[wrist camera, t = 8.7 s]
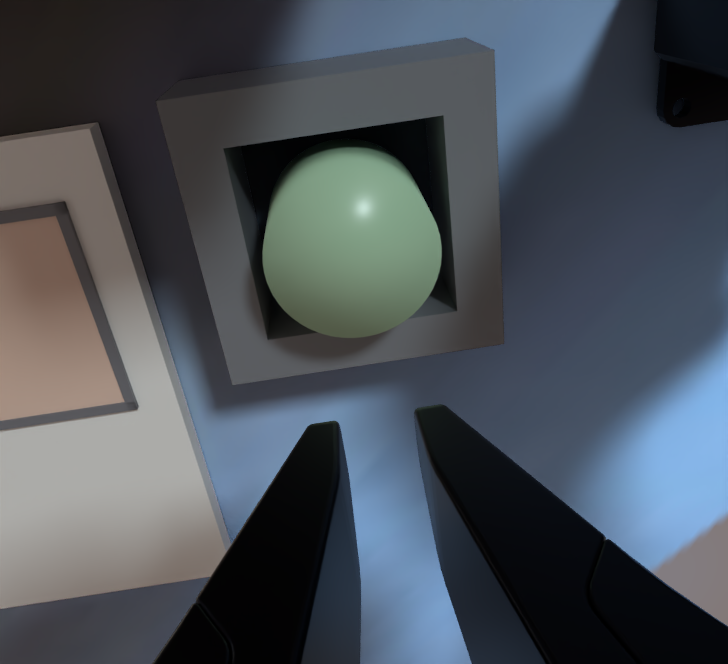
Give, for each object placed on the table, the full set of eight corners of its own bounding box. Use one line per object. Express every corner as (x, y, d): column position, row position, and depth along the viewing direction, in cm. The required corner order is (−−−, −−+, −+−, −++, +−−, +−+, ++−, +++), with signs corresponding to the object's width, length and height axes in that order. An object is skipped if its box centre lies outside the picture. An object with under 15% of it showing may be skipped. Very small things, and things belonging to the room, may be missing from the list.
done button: (414, 127, 17) (434, 157, 14) (427, 273, 19) (447, 324, 16) (254, 151, 17) (245, 186, 14) (284, 295, 19) (281, 349, 16)
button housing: (465, 37, 17) (494, 50, 14) (479, 296, 21) (504, 343, 18) (178, 80, 17) (155, 101, 14) (241, 332, 21) (232, 385, 18)
